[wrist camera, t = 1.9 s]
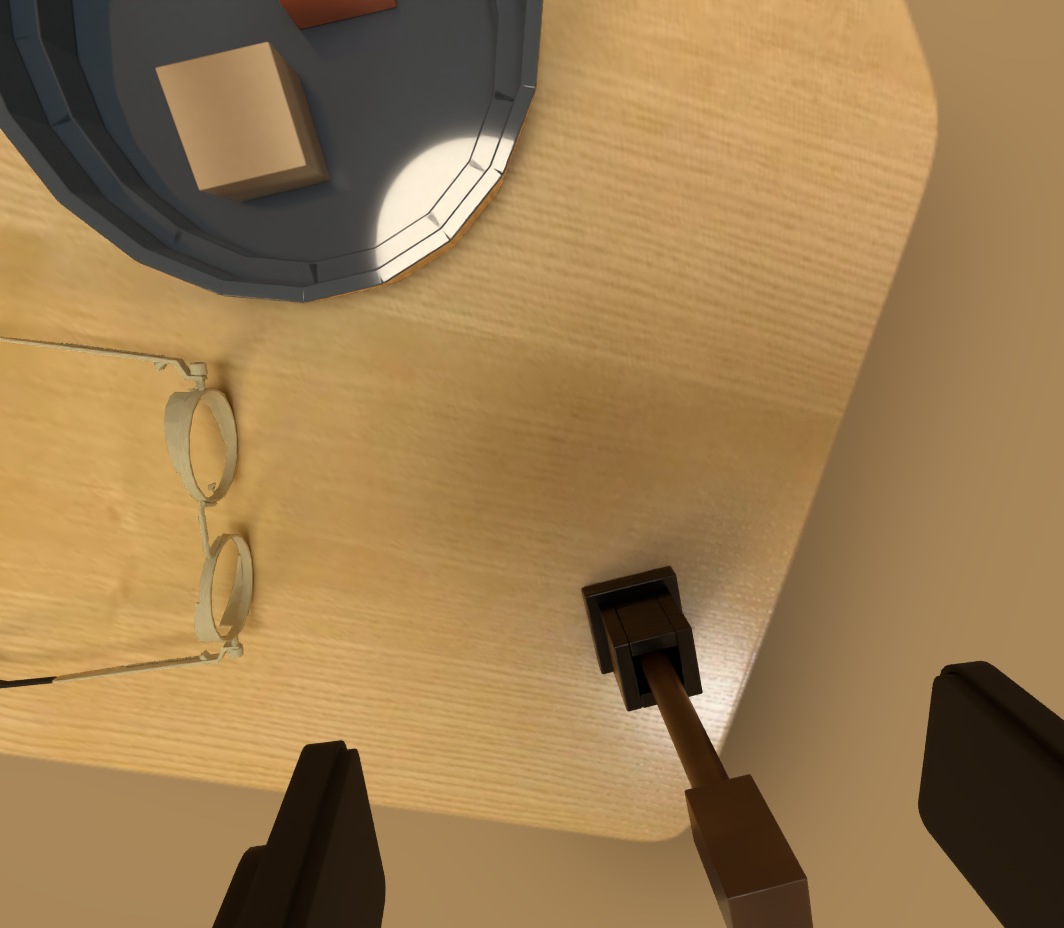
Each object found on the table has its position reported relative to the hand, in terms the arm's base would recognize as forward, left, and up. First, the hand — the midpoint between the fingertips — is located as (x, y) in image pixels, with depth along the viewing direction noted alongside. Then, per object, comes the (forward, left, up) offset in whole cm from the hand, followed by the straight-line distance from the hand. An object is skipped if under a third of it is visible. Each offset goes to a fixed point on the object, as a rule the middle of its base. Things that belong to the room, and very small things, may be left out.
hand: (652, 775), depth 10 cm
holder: (-3, +11, -22) cm, 25 cm away
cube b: (+8, -15, -22) cm, 27 cm away
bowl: (+6, -18, -22) cm, 29 cm away
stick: (-3, +12, -21) cm, 24 cm away
